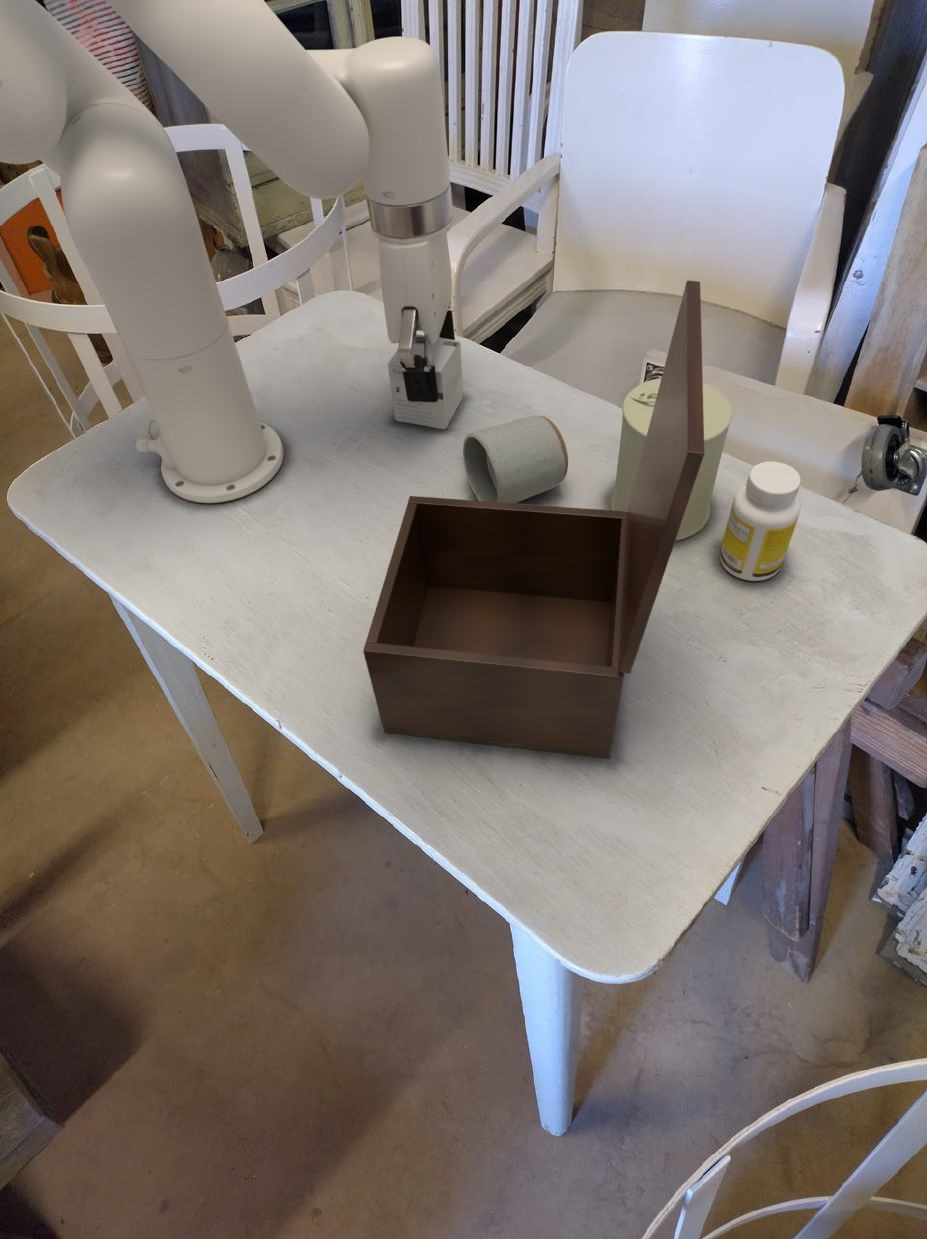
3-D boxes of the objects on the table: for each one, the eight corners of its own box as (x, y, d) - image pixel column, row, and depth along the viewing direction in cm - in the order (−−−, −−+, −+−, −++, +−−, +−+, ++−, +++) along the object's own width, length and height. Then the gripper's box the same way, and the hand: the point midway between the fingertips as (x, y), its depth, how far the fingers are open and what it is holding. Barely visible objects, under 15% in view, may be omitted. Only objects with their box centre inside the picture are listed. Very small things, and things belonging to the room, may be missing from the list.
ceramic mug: (572, 496, 80) (575, 432, 74) (499, 527, 77) (496, 464, 72) (517, 439, 86) (516, 376, 80) (448, 466, 84) (442, 403, 78)
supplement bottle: (786, 547, 74) (816, 464, 66) (774, 590, 71) (804, 507, 63) (725, 532, 75) (748, 449, 68) (711, 573, 72) (734, 490, 65)
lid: (687, 451, 38) (704, 454, 38) (686, 279, 48) (700, 281, 48) (618, 672, 53) (630, 674, 53) (628, 506, 62) (638, 508, 62)
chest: (383, 732, 64) (362, 650, 56) (422, 584, 74) (409, 495, 65) (609, 759, 61) (623, 677, 53) (619, 601, 71) (632, 511, 63)
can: (634, 465, 82) (648, 361, 73) (723, 493, 79) (749, 388, 69) (595, 522, 77) (604, 419, 68) (688, 555, 74) (711, 451, 65)
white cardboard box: (394, 422, 89) (385, 363, 83) (414, 389, 92) (406, 330, 86) (447, 431, 87) (441, 371, 81) (464, 397, 91) (461, 338, 85)
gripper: (390, 164, 79) (414, 324, 92) (345, 257, 68) (379, 422, 82) (467, 163, 77) (479, 326, 91) (433, 257, 67) (453, 425, 80)
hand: (432, 371), depth 86 cm, fingers open, 9 cm apart
